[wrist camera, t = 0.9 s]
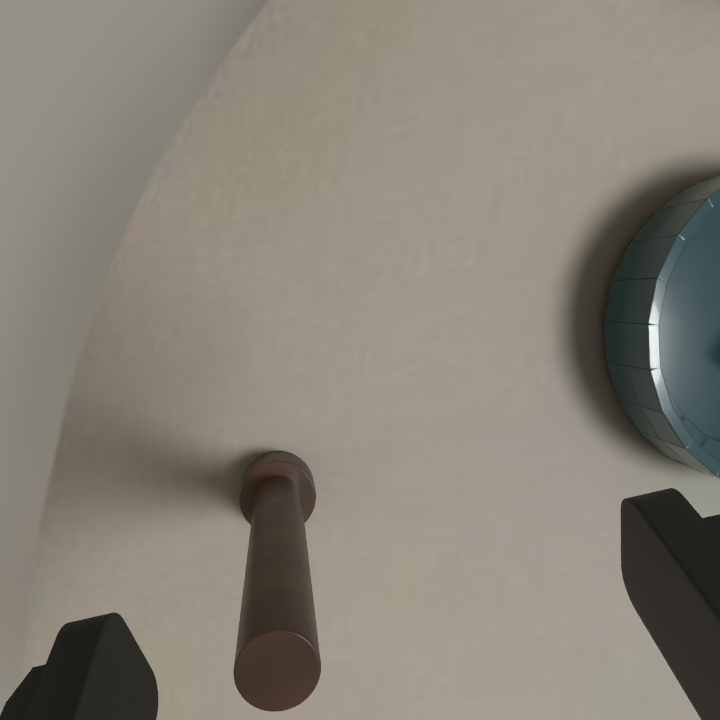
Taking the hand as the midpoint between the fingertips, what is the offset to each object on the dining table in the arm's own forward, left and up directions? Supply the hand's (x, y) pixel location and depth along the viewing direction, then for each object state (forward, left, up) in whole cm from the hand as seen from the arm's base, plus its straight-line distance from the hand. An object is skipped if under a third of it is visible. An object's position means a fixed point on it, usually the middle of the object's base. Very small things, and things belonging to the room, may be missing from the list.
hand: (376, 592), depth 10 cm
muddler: (+3, -4, -22) cm, 22 cm away
